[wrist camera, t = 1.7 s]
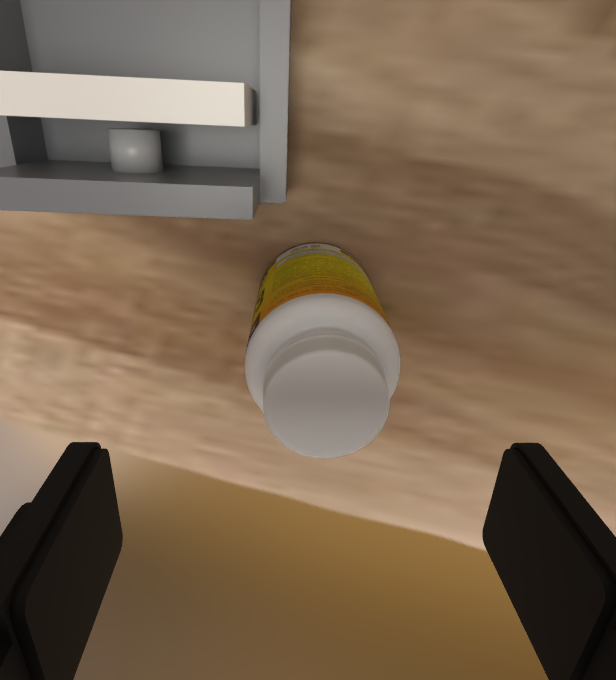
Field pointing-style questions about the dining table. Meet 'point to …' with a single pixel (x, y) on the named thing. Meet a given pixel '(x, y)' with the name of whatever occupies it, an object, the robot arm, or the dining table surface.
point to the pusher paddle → (126, 99)
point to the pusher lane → (148, 137)
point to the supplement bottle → (321, 353)
